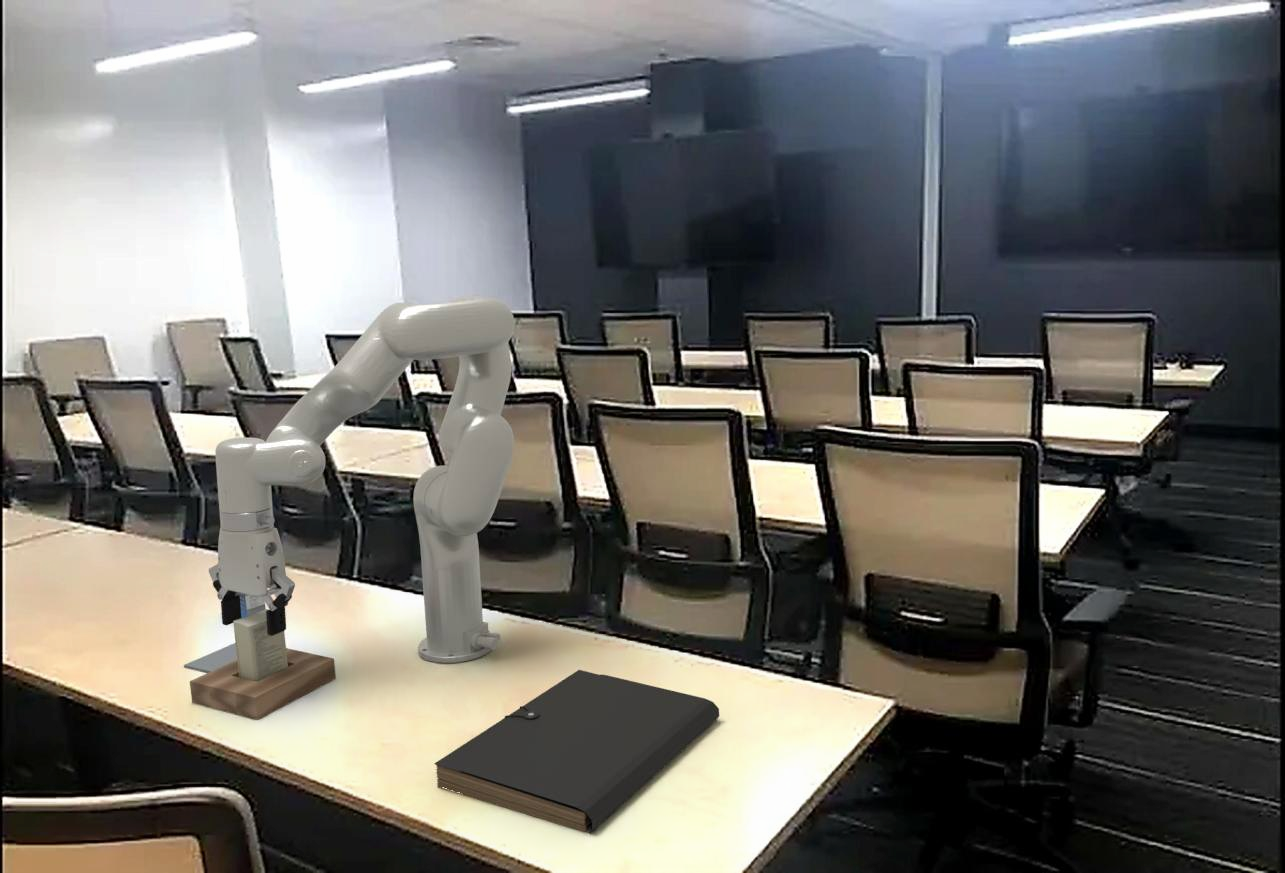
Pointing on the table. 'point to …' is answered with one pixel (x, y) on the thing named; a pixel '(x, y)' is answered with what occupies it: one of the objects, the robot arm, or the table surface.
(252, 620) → the skincare box
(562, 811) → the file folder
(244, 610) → the label tape box
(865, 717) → the table surface
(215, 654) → the slate mat
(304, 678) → the pocket block
